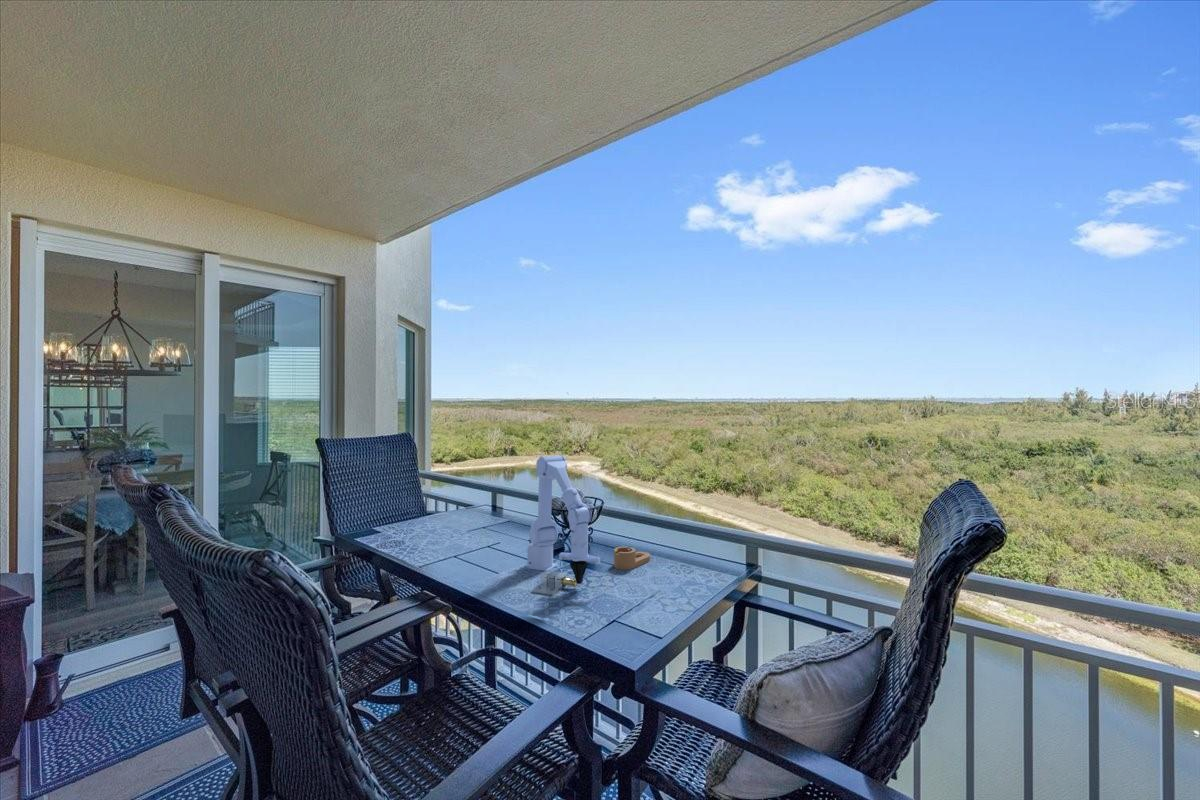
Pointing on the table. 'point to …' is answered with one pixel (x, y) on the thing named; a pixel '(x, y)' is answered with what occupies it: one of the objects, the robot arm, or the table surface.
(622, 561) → the bracket
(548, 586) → the hinge
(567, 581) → the pin
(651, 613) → the table surface
